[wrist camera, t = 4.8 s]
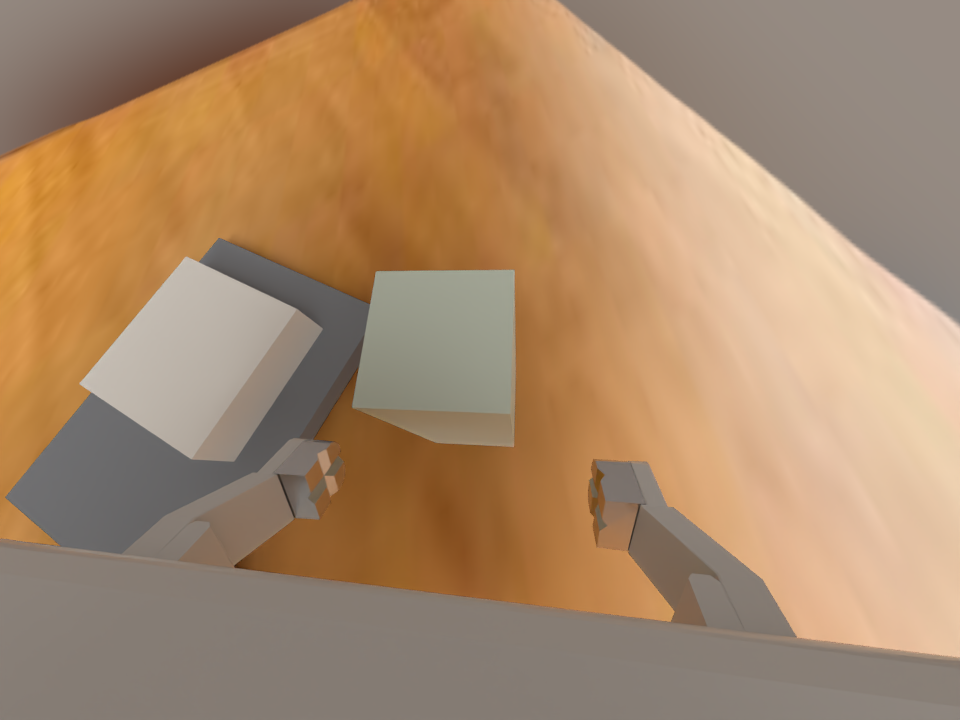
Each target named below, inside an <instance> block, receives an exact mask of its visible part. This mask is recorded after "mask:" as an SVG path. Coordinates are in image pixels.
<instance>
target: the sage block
mask: <svg viewBox="0 0 960 720" xmlns="http://www.w3.org/2000/svg"><path fill="white" fill-rule="evenodd" d="M515 391H516V338H515V270H445V271H376V274H375V280H374V286H373V291H372V297H371V303H370V308H369V314H368V319H367V325H366V331H365V336H364V342H363V347H362V353H361V359H360V364H359V370H358V375H357V381H356V387H355V392H354V398H353V404H352V408H354V409H356V410H358V411H361V412H363V413H366V414H368V415H370V416H373V417H375V418H378V419H380V420H382V421H385V422H387V423H390V424H392V425H394V426H397V427H399V428H402V429H404V430H406V431H409V432H411V433H414V434H416V435H418V436H421V437H423V438H426V439H428V440H430V441H433V442H435V443H445V444H465V445H485V446H505V447H514V432H515Z"/></svg>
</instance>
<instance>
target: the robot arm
mask: <svg viewBox="0 0 960 720" xmlns="http://www.w3.org/2000/svg"><path fill="white" fill-rule="evenodd" d="M340 452H341V449H340V446H339V443H337V442H334V441H323V440H312V439H298V438H293V439H290V440H289V441H288V442H287V443H286V444H285V445H284V446H283V447H282V448H281V449H280V450H279V451H278V452H277V453H276V454H275V455H274V456H273V457H272V458H271V459H270V460H269V461H268V462H267V463H266V464H265V465H264V466H263V467H262V468H261V469H260V470H259V471H258V472H257V473H251V474H249V475H246V476H244V477H242V478H240V479H238V480H236V481H234V482H232V483H230V484H228V485H226V486H224V487H222V488H220V489H218V490H216V491H214V492H212V493H210V494H208V495H206V496H204V497H202V498H200V499H198V500H196V501H194V502H192V503H190V504H188V505H186V506H184V507H181V508H179V509H177V510H175V511H173V512H171V513H169V514H167V515H165V516H164V517H163V518H161V519H160V520H159V521H158V522H157V523H156V524H155V525H154V526H152V527H151V528H150V529H149V530H148V531H147V532H146V533H145V534H143V535H142V536H141V537H140V538H139V539H138V540H137V541H136V542H134V543H133V544H132V545H131V546H130V547H129V548H128V549H127V550H125V551H124V552H123V553H122V554H119V553H110V552H102V551H94V550H86V549H78V548H70V547H62V546H54V545H46V544H38V543H29V542H22V541H15V540H9V539H0V720H960V658H959V657H950V656H942V655H934V654H926V653H918V652H910V651H901V650H893V649H885V648H877V647H869V646H861V645H852V644H844V643H836V642H828V641H820V640H812V639H804V638H797V637H796V635H795V633H794V632H793V630H792V628H791V627H790V625H789V623H788V622H787V620H786V618H785V617H784V615H783V613H782V612H781V610H780V608H779V606H778V605H777V603H776V601H775V600H774V598H773V596H772V595H771V593H770V591H769V590H768V588H767V586H766V585H765V583H764V581H763V580H762V579H761V578H760V577H759V576H757V575H756V574H755V573H754V572H753V571H751V570H750V569H749V568H748V567H746V566H745V565H744V564H743V563H741V562H740V561H739V560H738V559H737V558H735V557H734V556H733V555H732V554H730V553H729V552H728V551H727V550H725V549H724V548H723V547H722V546H720V545H719V544H718V543H717V542H716V541H714V540H713V539H712V538H711V537H709V536H708V535H707V534H706V533H704V532H703V531H702V530H701V529H700V528H698V527H697V526H696V525H695V524H693V523H692V522H691V521H690V520H688V519H687V518H686V517H685V516H684V515H682V514H681V513H680V512H679V511H677V510H676V509H675V508H674V507H668V506H667V504H666V501H665V499H664V497H663V495H662V492H661V490H660V488H659V486H658V483H657V481H656V479H655V477H654V474H653V472H652V470H651V468H650V465H649V464H648V463H647V462H639V461H617V460H600V459H593V462H592V466H591V472H592V477H593V478H591V479H590V480H589V486H588V502H589V509H590V513H591V514H592V515H593V516H594V521H593V531H594V536H595V541H596V546H597V547H599V548H607V549H614V550H622V551H629V552H628V553H629V554H630V556H631V557H632V558H633V559H634V561H635V562H636V563H637V564H638V566H639V567H640V568H641V569H642V571H643V572H644V573H645V574H646V576H647V577H648V578H649V579H650V581H651V582H652V583H653V584H654V586H655V587H656V588H657V589H658V591H659V592H660V593H661V595H662V596H663V597H664V598H665V600H666V601H667V602H668V603H669V605H670V606H671V607H672V608H673V610H674V611H675V613H674V615H673V618H672V620H671V622H667V621H659V620H651V619H643V618H635V617H627V616H619V615H611V614H603V613H595V612H587V611H578V610H570V609H562V608H554V607H546V606H538V605H530V604H522V603H513V602H505V601H497V600H489V599H481V598H473V597H464V596H456V595H448V594H440V593H432V592H424V591H416V590H408V589H400V588H392V587H384V586H376V585H368V584H360V583H352V582H344V581H336V580H328V579H320V578H312V577H304V576H296V575H288V574H280V573H272V572H264V571H255V570H247V569H239V568H235V567H234V565H235V564H237V563H238V562H239V561H240V560H242V559H243V558H244V557H246V556H247V555H248V554H250V553H251V552H252V551H254V550H255V549H256V548H257V547H259V546H260V545H261V544H263V543H264V542H265V541H267V540H268V539H269V538H271V537H272V536H273V535H275V534H276V533H277V532H278V531H280V530H281V529H282V528H284V527H285V526H286V525H288V524H289V523H290V522H292V521H293V520H294V518H305V519H319V520H320V519H321V517H322V516H323V514H324V513H325V511H326V509H327V508H328V506H329V505H330V503H331V497H330V496H331V495H333V494H334V493H336V492H337V491H339V489H340V487H341V486H342V484H343V481H344V478H345V464H344V461H343V460H342V459H341V458H340V457H339V456H338V455H339V454H340Z"/></svg>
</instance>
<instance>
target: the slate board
mask: <svg viewBox="0 0 960 720" xmlns="http://www.w3.org/2000/svg"><path fill="white" fill-rule="evenodd" d="M369 308H370V304H368V303H366V302H363V301H361V300H359V299H357V298H354V297H352V296H350V295H347V294H345V293H343V292H341V291H338V290H336V289H334V288H332V287H329V286H327V285H325V284H323V283H320V282H318V281H316V280H313V279H311V278H309V277H307V276H304V275H302V274H300V273H298V272H295V271H293V270H291V269H289V268H286V267H284V266H282V265H279V264H277V263H275V262H273V261H270V260H268V259H266V258H264V257H261V256H259V255H257V254H254V253H252V252H250V251H248V250H245V249H243V248H241V247H239V246H236V245H234V244H232V243H230V242H227V241H225V240H223V239H220V238H218V240H217V241H216V242H215V243H214V244H213V246H212V247H211V248H210V249H209V251H208V252H207V253H206V254H205V255H204V257H203V258H202V259H201V260H200V261H199V262H197V261H195V260H193V259H191V258H189V257H185V259H184V260H183V261H182V262H181V263H180V264H179V266H178V267H177V268H176V269H175V270H174V272H173V273H172V274H171V275H170V276H169V278H168V279H167V280H166V281H165V282H164V284H163V285H162V286H161V287H160V288H159V289H158V291H157V292H156V293H155V294H154V295H153V297H152V298H151V299H150V300H149V301H148V303H147V304H146V305H145V306H144V307H143V309H142V310H141V311H140V312H139V313H138V314H137V316H136V317H135V318H134V319H133V320H132V322H131V323H130V324H129V325H128V326H127V328H126V329H125V330H124V331H123V332H122V334H121V335H120V336H119V337H118V338H117V340H116V341H115V342H114V343H113V344H112V345H111V347H110V348H109V349H108V350H107V351H106V353H105V354H104V355H103V356H102V357H101V359H100V360H99V361H98V362H97V363H96V365H95V366H94V367H93V368H92V369H91V370H90V372H89V373H88V374H87V375H86V376H85V378H84V379H83V380H82V381H81V382H80V385H81V386H83V387H84V388H86V389H87V390H89V391H90V392H92V393H91V394H90V395H89V396H88V397H87V399H86V400H85V401H84V402H83V404H82V405H81V406H80V407H79V408H78V410H77V411H76V412H75V413H74V414H73V416H72V417H71V418H70V419H69V421H68V422H67V423H66V424H65V425H64V427H63V428H62V429H61V430H60V431H59V433H58V434H57V435H56V436H55V438H54V439H53V440H52V441H51V442H50V444H49V445H48V446H47V447H46V448H45V450H44V451H43V452H42V453H41V455H40V456H39V457H38V458H37V459H36V461H35V462H34V463H33V464H32V465H31V467H30V468H29V469H28V470H27V472H26V473H25V474H24V475H23V476H22V478H21V479H20V480H19V481H18V482H17V484H16V485H15V486H14V487H13V489H12V490H11V491H10V492H9V493H8V495H7V496H6V497H5V498H6V499H8V500H9V501H10V502H11V503H12V504H13V505H14V506H16V507H17V508H18V509H19V510H20V511H21V512H22V513H24V514H25V515H26V516H27V517H28V518H29V519H31V520H32V521H33V522H34V523H35V524H36V525H37V526H39V527H40V528H41V529H42V530H43V531H44V532H45V533H47V534H48V535H49V536H50V537H51V538H52V539H53V540H55V541H56V542H57V543H58V544H59V545H60V546H62V547H70V548H78V549H86V550H94V551H102V552H110V553H119V554H122V553H123V552H124V551H125V550H127V549H128V548H129V547H130V546H131V545H132V544H133V543H134V542H136V541H137V540H138V539H139V538H140V537H141V536H142V535H143V534H145V533H146V532H147V531H148V530H149V529H150V528H151V527H152V526H154V525H155V524H156V523H157V522H158V521H159V520H160V519H161V518H163V517H164V516H165V515H167V514H169V513H171V512H173V511H175V510H177V509H179V508H181V507H184V506H186V505H188V504H190V503H192V502H194V501H196V500H198V499H200V498H202V497H204V496H206V495H208V494H210V493H212V492H214V491H216V490H218V489H220V488H222V487H224V486H226V485H228V484H230V483H232V482H234V481H236V480H238V479H240V478H242V477H244V476H246V475H249V474H251V473H257V472H258V471H259V470H260V469H261V468H262V467H263V466H264V465H265V464H266V463H267V462H268V461H269V460H270V459H271V458H272V457H273V456H274V455H275V454H276V453H277V452H278V451H279V450H280V449H281V448H282V447H283V446H284V445H285V444H286V443H287V442H288V441H289V440H290V439H293V438H298V439H312V440H313V439H314V437H315V436H316V434H317V432H318V431H319V429H320V428H321V426H322V424H323V423H324V421H325V419H326V418H327V416H328V415H329V413H330V411H331V410H332V408H333V407H334V405H335V403H336V402H337V400H338V398H339V397H340V395H341V394H342V392H343V390H344V389H345V387H346V386H347V384H348V382H349V381H350V379H351V377H352V376H353V374H354V373H355V371H356V369H357V368H358V366H359V364H360V359H361V353H362V347H363V342H364V336H365V331H366V325H367V319H368V314H369ZM235 565H236V564H235ZM235 565H234V566H235Z"/></svg>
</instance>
